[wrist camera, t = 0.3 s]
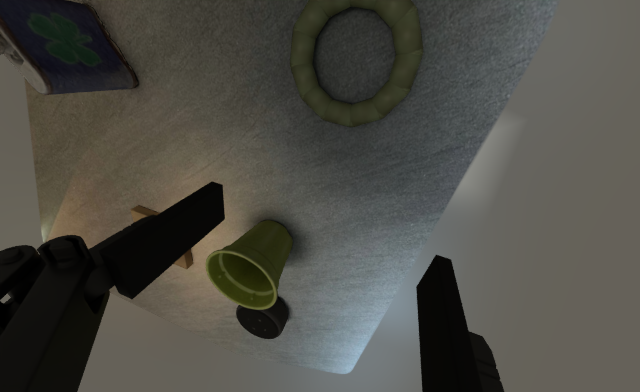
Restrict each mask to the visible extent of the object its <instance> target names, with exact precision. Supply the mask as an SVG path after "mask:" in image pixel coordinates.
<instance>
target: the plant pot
mask: <svg viewBox="0 0 640 392" xmlns="http://www.w3.org/2000/svg"><path fill="white" fill-rule="evenodd" d="M292 244H293V241H292V237H291V236H290V235H289V234H288V232H287V230H286V228H285V227H284V226H282V225H281V224H279V223H277V222H274V221H270V220H266V221H263V222H260V223H258V224H257V225H255V226H254V227H253V228H252V229H250V230H249V231H248V232H247V233H245V234H244V235H243V236H241V237H240V238H239V239H237V240H236V241H235V242H234V243H232V244H231V245H229V246H226V247H224V248H223V249H221V250H217V251H214V252H213V253H211V254H210V255H209V256H208V258H207V260H206V271H207V274H208V277H209V279H210V280H211V282H212V283H213V285H214V286H215V287H216V288H217V289H218V290H219V291H220V292H221V293H222V294H223V295H224V296H226V297H227V298H228V299H230V300H231V301H233V302H235V303H237V304H239V305H241V306H243V307H246V308H251V309H256V310H264V309H267V308H270V307H271V306H273V305H274V303H275V302H276V299H277V295H278V291H277V289H278V286H279V279H280V276H281V274H282V271H283V268H284V266H285V263H286V260H287V258H288V256H289V253H290V251H291V248H292Z"/></svg>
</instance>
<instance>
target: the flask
mask: <svg viewBox="0 0 640 392" xmlns="http://www.w3.org/2000/svg"><path fill="white" fill-rule="evenodd" d="M1 54H4V55H5V56H6V57H7V58H8V59H9V61H10V62H11V63H12V64H13V65H14V67H15V68H16V69H17V70H18V71H19V72H20V73H21V74H22V75H23V76H24V78H25V79H26V80H27V81H28V82H29V83H30V84H31V85H32V86H33V87H34V89H35V90H37V91H38V92H39V93H41V94H44V95H50V94H65V93H76V92H92V91H105V90H118V89H132V88H134V87H136V85H137V84H138V82H137V81H136V78H135V74H134V72H133V70H132V68H131V66H128V64H127V62H126V61H125V59H124V57H123V56H122V53H121V52H120V50H119V48H118V47H117V45H116V44H115V43H114V42H113V41H112V40H110V38H109V33H108V32H107V31H106V30H105V29H104V28H103V26H102V22H101V21H100V20H99V18H98V17H97V15H96V13H95V11H94V9H93V8H91V7H90V6H89V5H87V4H86V3H85V4H81V3H77V2H72V1H66V0H0V55H1Z"/></svg>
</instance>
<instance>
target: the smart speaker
mask: <svg viewBox="0 0 640 392" xmlns="http://www.w3.org/2000/svg"><path fill="white" fill-rule="evenodd" d="M236 315H237V319H238V321H239V322H240V324H241V325H242V326H243V327H244V328H245V329H246V330H247V331H249V332H250V333H252V334H253V335H255V336H258V337H260V338H264V339H273V338H276V337H278V336H279V335H280V334H281V333H282V331H283V328H284V326H285V324H286V322H287V319H288V313H287V309H286V307H285V306H284V304H283V303H282V302H281V301H280V300H279V299H278V298H277V299H276V302H275V303H274V305H273V306H271V307H270V308H267V309H264V310H256V309H251V308H246V307H243V306H241V305H239V306H238V307H237V310H236Z"/></svg>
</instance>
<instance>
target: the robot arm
mask: <svg viewBox="0 0 640 392" xmlns="http://www.w3.org/2000/svg"><path fill="white" fill-rule="evenodd" d="M224 219H225V214H224V200H223V185H221V184H218V183H215V182H210V183H209V184H207V185H205V186H204V187H202V188H201V189H199V190H197V191H196V192H194V193H192V194H191V195H189V196H187V197H186V198H184V199H183V200H181V201H179V202H178V203H176V204H174V205H173V206H171V207H170V208H168V209H166V210H165V211H163V212H161V213H160V214H158V215H154V214H153V215H150V216H147V217H144V218H141V219H140V220H138V221H136V222H134V223H133V224H131V226H128V227H126V228H124V229H123V230H122V231H119V232H117V233H116V234H114V235H112V236H111V237H109V238H107V239H106V240H104V241H102V242H100V243H99V244H97V245H95V246H94V247H92V248H90V249H88V248H87V246H86V244H85V242H84V240H83V239H82V238H81V237H80V236H76V235H66V236H61V237H57V238H55V239H52V240H49V241H48V242H46V243H44V244H42V245H41V246H40V247H39V248H38V249H37V251H38V252H39V253H40V255H39V254H38V252H37V251H36V249H35V248H34V247H32V246H28V245H22V246H15V247H11V248H7V249H5V250H2V251H0V300H1V299H2V298H3V297H4V296H5V295H6V294H7V293H8V295H9V296H10V297H11V298H10V299H9V300H8V301H6V302H5V303H4V304H3V303H1V301H0V392H77V391H78V388H79V385H80V382H81V379H82V376H83V373H84V370H85V367H86V364H87V361H88V358H89V355H90V352H91V349H92V346H93V343H94V340H95V337H96V334H97V331H98V329H99V326H100V323H101V319H102V317H103V314H104V311H105V308H106V305H107V302H108V299H109V295H110V291H109V289H111V288H112V287H113V286H114V285H115V286H116V288H117V290H118V292H119V293H120V294H122V295H124V296H126V297H128V298H130V299H133V298H134V297H135V296H137V295H138V294H139V293H140V292H141V291H142V290H144V289H145V288H146V287H147V286H148V285H149V284H150V283H152V282H153V281H154V280H155V279H156V278H157V277H159V276H160V275H161V274H162V273H163V272H164V271H165V270H167V269H168V268H169V267H170V266H171V265H172V264H174V263H175V262H176V261H177V260H178V259H179V258H180V257H182V256H183V255H184V254H185V253H186V252H187V251H189V250H190V249H191V248H192V247H193V246H194V245H195V244H197V243H198V242H199V241H200V240H201V239H202V238H204V237H205V236H206V235H207V234H208V233H209V232H210V231H212V230H213V229H214V228H215V227H216V226H217V225H219V224H220V223H221V222H222V221H223V220H224ZM416 288H417V304H418V322H419V337H420V338H419V339H420V355H421V356H420V357H421V374H422V391H423V392H504V389H503V386H502V383H501V381H500V377H499V373H498V370H497V369H496V363H495V360H494V357H493V354H492V351H491V349H490V348H489V346H488V344H487V343H486V341H485V340H484V338H483V337H482V336H480V335H477V334H475V333H472V332H469V331H468V327H467V323H466V319H465V315H464V311H463V307H462V303H461V299H460V294H459V290H458V286H457V282H456V278H455V274H454V270H453V266H452V262H451V260H450V259H448V258H444V257H442V256H439V255H436V256H435V257H434V259H433V261H432V262H431V264H430V266H429V267H428V269H427V271H426V272H425V274H424V275H423V277H422V279H421V280H420V282H419V284H418V285H417V287H416Z"/></svg>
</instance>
